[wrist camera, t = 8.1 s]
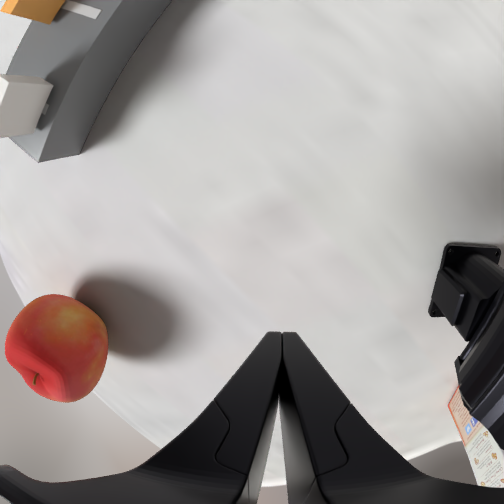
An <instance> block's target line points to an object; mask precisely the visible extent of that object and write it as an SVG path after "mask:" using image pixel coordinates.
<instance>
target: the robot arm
mask: <svg viewBox="0 0 504 504" xmlns="http://www.w3.org/2000/svg"><path fill="white" fill-rule="evenodd" d="M450 249H451V251H450V252H449V253H448V251H449V250H450ZM496 252H497V253H496ZM495 253H496V254H495ZM500 255H501V250H500V249H499V248H498V247H492V246H478V245H462V244H447V245H446V246H445V248H444V251H443V256H442V261H441V265H440V269H439V271H438V274H437V278H436V282H435V286H434V290H433V293H432V297H431V298H432V300H431V303H430V306H429V310H428V313H429V315H430V316H431V317H446V318H447V320H448V321H449V323H450V324H451V325H452V326H455V327H456V329H457V330H458V331H459V333H460V334H461V336H462V337H463V338H464V340H465V341H466V342H468V341H469V343H468V345H467V346H466V348H465V349H464V351H463V352H462V354H461V355H460V356H458V357H457V359H456V360H455V362H454V363H455V368H456V373H457V378H458V383H459V392H460V394H461V399H462V402H463V405H464V407H466V408H467V410H468V411H469V414H470V415H471V416H472V417H474V418H475V419H476V420H478V421H479V422H480V423H481V424H482V425H483V426H484V427H485V428H486V429H487V430H488V431H489V432H490V434H491V435H492V437H493V438H494V440H495V441H496V443H497V444H498V446H499V447H500V449H502V450H504V269H502V268H501V267H500V266H499V265H498V263H499V259H500ZM434 310H435V311H434ZM433 311H434V312H433ZM278 401H279V409H280V419H281V429H282V439H283V449H284V460H285V470H286V481H287V492H288V503H289V504H504V487H503V488H497V487H486V486H478V485H471V484H465V483H459V482H454V481H449V480H443V479H439V478H434V477H431V476H428V475H426V474H424V473H422V472H420V471H419V470H417V469H416V468H414V467H413V466H412V465H411V464H410V463H409V462H408V461H407V460H406V459H404V458H403V457H402V456H401V455H400V454H399V453H398V452H397V451H396V450H395V449H394V448H393V447H392V446H390V445H389V444H388V443H387V442H386V441H385V440H384V439H383V438H382V437H381V436H380V435H379V434H378V433H377V432H376V431H375V430H374V429H373V428H372V427H371V426H370V425H369V424H368V423H367V421H366V420H365V419H364V418H363V417H362V416H361V414H360V413H359V412H358V411H357V410H356V408H355V407H354V406H353V404H350V401H349V399H348V398H347V397H346V396H345V394H344V393H343V392H342V391H341V389H340V388H339V387H338V385H337V384H336V383H335V382H334V380H333V379H332V378H331V376H330V375H329V374H328V373H327V371H326V370H325V369H324V367H323V366H322V365H321V364H320V362H319V361H318V360H317V358H316V357H315V356H314V355H313V353H312V352H311V351H310V349H309V348H308V347H307V346H306V344H305V343H304V342H303V340H302V339H301V338H300V336H299V335H298V334H297V333H296V332H283V333H281V332H271V331H270V332H267V333H266V334H265V336H264V337H263V338H262V340H261V341H260V342H259V344H258V345H257V346H256V347H255V349H254V350H253V351H252V352H251V354H250V355H249V356H248V358H247V359H246V360H245V361H244V363H243V364H242V365H241V366H240V368H239V369H238V370H237V371H236V373H235V374H234V375H233V376H232V377H231V379H230V380H229V381H228V382H227V384H226V385H225V386H224V387H223V388H222V390H221V391H220V392H219V393H218V394H217V396H216V397H215V398H214V401H211V403H210V404H209V405H208V406H207V407H206V409H205V410H204V411H203V412H202V413H201V414H200V415H199V416H198V417H197V418H196V419H195V420H194V421H193V422H192V423H191V424H190V425H189V426H188V427H187V428H186V429H185V430H184V431H182V432H181V433H180V434H179V435H178V436H177V437H176V438H174V439H173V440H172V441H171V442H169V443H168V444H167V445H166V446H165V447H163V448H162V449H161V450H160V451H158V452H157V453H156V454H155V455H153V456H152V457H151V458H150V459H148V460H147V461H146V462H144V463H143V464H141V465H140V466H138V467H136V468H134V469H132V470H130V471H127V472H124V473H119V474H115V475H109V476H104V477H98V478H91V479H85V480H77V481H69V482H59V483H49V482H41V481H38V480H34V479H32V478H29V477H27V476H26V475H24V474H23V473H21V472H20V471H18V470H16V469H15V468H13V467H11V466H9V465H0V495H1V496H2V497H3V498H4V499H6V500H7V501H9V502H10V503H11V504H257V500H258V496H259V491H260V488H261V484H262V479H263V475H264V471H265V466H266V462H267V457H268V452H269V448H270V443H271V438H272V433H273V429H274V424H275V418H276V413H277V408H278Z"/></svg>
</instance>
